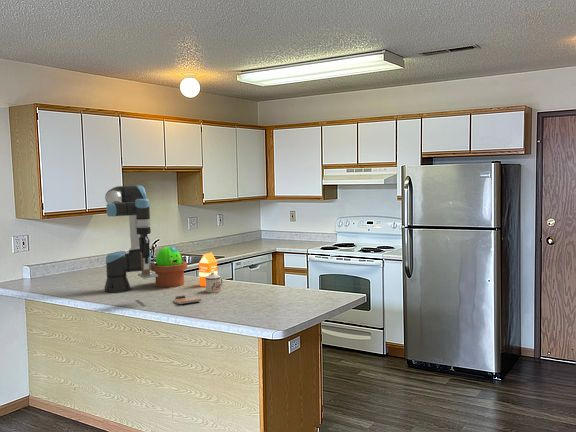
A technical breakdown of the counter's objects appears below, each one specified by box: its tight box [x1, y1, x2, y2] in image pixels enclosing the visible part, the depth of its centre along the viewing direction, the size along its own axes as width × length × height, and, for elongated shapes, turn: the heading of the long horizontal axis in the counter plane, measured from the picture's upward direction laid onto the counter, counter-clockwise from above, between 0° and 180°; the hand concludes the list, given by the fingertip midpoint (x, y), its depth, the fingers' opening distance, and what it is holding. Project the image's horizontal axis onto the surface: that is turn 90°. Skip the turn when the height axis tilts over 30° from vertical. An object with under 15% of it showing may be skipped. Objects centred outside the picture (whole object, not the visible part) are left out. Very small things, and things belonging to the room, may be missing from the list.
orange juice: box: [198, 252, 218, 287], centre depth 345 cm, size 8×9×20 cm
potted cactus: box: [150, 245, 188, 288], centre depth 349 cm, size 22×22×25 cm
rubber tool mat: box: [134, 299, 147, 307], centre depth 302 cm, size 16×12×1 cm
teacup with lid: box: [205, 272, 224, 294], centre depth 326 cm, size 12×9×12 cm
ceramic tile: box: [172, 296, 202, 305], centre depth 299 cm, size 12×12×1 cm
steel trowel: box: [137, 252, 158, 279], centre depth 301 cm, size 12×8×13 cm, turn 30°
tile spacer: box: [175, 294, 186, 300], centre depth 309 cm, size 2×5×2 cm, turn 120°
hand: (145, 268), depth 305 cm, fingers closed on steel trowel, 3 cm apart
